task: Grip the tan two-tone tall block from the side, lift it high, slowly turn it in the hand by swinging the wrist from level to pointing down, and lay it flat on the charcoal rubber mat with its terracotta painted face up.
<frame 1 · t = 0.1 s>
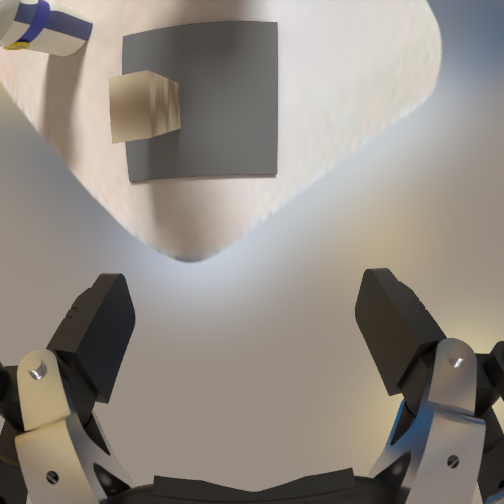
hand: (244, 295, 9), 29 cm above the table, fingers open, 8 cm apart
water bottle: (72, 34, 23), on the table
tan two-tone tall block: (166, 107, 30), point 1 cm above the table, touching rubber mat
rubber mat: (197, 97, 31), on the table
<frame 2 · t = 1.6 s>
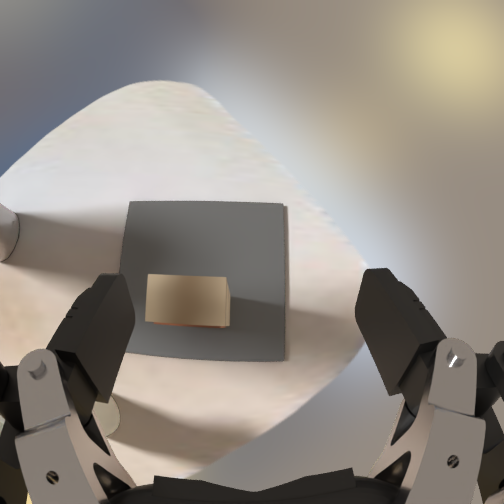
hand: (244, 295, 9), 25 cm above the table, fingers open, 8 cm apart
water bottle: (97, 408, 29), on the table
tan two-tone tall block: (204, 310, 32), point 1 cm above the table, touching rubber mat
rubber mat: (198, 277, 34), on the table
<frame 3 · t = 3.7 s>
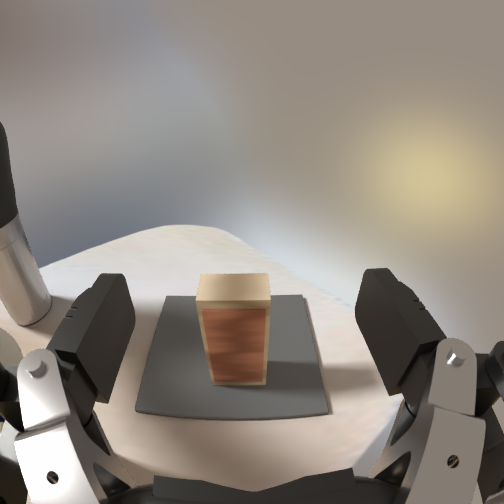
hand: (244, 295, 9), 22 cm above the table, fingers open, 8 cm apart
water bottle: (94, 473, 18), on the table
tan two-tone tall block: (238, 372, 30), point 1 cm above the table, touching rubber mat
rubber mat: (231, 350, 34), on the table
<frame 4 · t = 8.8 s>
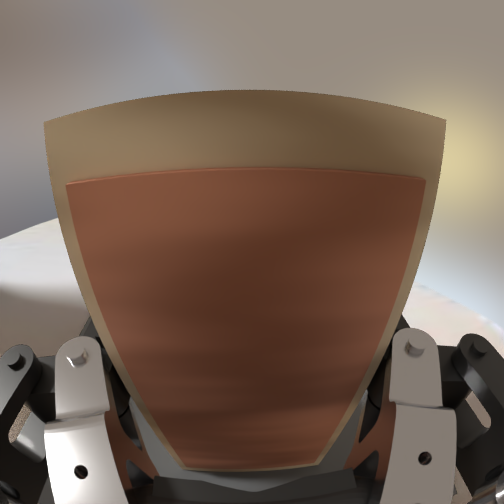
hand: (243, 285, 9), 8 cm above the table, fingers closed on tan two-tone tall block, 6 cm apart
tan two-tone tall block: (248, 438, 11), point 1 cm above the table, touching gripper, rubber mat
rubber mat: (228, 381, 14), on the table
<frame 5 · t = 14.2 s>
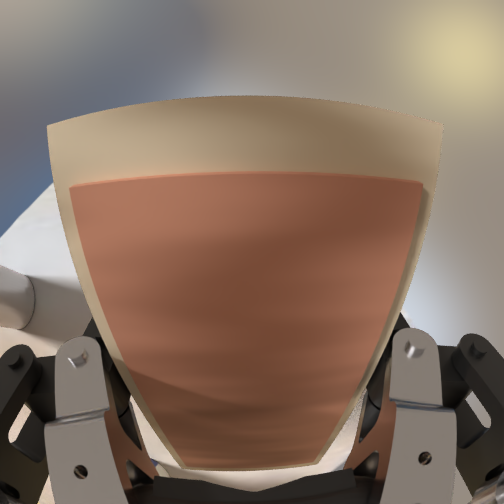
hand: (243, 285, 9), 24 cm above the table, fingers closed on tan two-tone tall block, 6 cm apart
tan two-tone tall block: (248, 437, 11), point 21 cm above the table, tilted 44°, touching gripper
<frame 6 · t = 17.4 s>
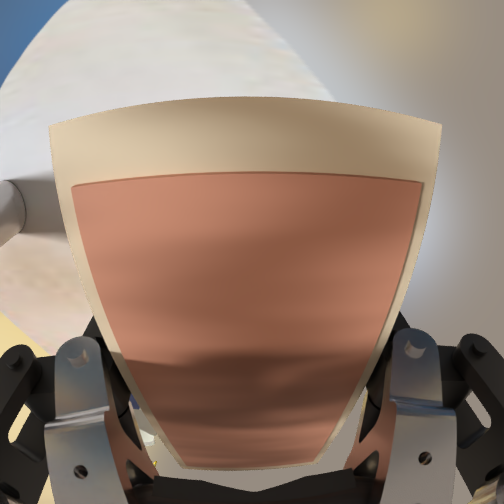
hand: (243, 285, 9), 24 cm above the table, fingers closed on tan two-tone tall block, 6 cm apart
water bottle: (155, 331, 43), on the table
tan two-tone tall block: (248, 437, 11), point 27 cm above the table, tilted 90°, touching gripper
when the fingers open (2 cm above the table, at t = 23.0 s): tan two-tone tall block drops 2 cm, resting on rubber mat.
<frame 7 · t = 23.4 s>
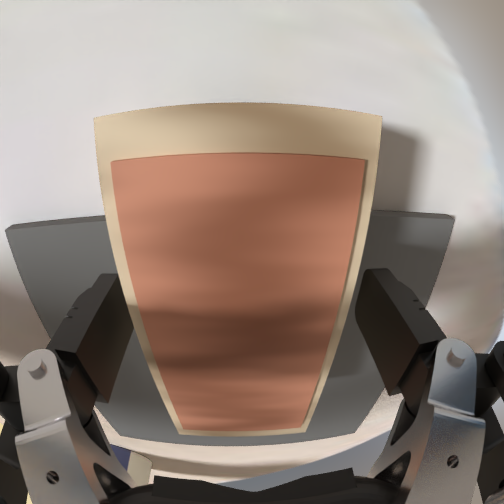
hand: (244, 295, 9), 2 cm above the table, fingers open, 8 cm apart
water bottle: (122, 454, 24), on the table
tan two-tone tall block: (241, 406, 12), point 2 cm above the table, tilted 90°, touching rubber mat
rubber mat: (228, 377, 15), on the table
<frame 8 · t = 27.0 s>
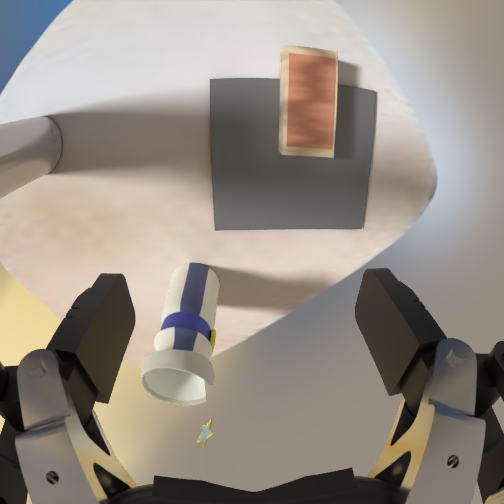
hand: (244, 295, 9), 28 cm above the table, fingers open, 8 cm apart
water bottle: (196, 282, 43), on the table
tan two-tone tall block: (305, 153, 31), point 2 cm above the table, tilted 90°, touching rubber mat
rubber mat: (295, 156, 34), on the table
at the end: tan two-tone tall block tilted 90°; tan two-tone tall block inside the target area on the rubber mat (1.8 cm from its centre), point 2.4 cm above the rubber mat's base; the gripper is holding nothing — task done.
